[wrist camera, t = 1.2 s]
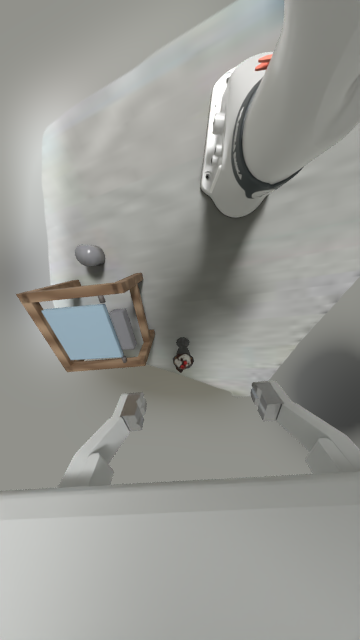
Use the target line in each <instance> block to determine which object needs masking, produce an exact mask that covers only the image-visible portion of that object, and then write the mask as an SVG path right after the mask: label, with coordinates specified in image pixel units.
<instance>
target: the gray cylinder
mask: <svg viewBox="0 0 360 640" xmlns="http://www.w3.org/2000/svg"><path fill="white" fill-rule="evenodd" d="M75 256H76V258H77V260H78V261H79V262H80V263H81V264H83V265H85V266H95V265H101V264H103V263H104V261H105V254H104V252H103V251H102V249H101V248H99V247H97V246H92V245H79V246H77V247H76V249H75Z"/></svg>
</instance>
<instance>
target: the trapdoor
mask: <svg viewBox="0 0 360 640" xmlns="http://www.w3.org/2000/svg"><path fill="white" fill-rule="evenodd" d="M42 313H43V315H44V316H45V318H46V320H47V321H48V323H49V325H50V326H51V328H52V330H53V331H54V333H55V335H56V336H57V338H58V340H59V341H60V343H61V344H62V346H63V348H64V349H65V351H66V353H67V354H68V356H69V358H70V359H71V360H80V359H98V358H116V357H122V356H123V355H124V354H123V351H122V350H123V349H134V348H135V346H136V344H137V343H136V340H135V337H134V333H133V330H132V327H131V323H130V320H129V317H128V313H127V310H126V309H115V310H112V311H111V312H110V313H108V311H107V308H106V305H105V304H97V305H86V306H75V307H64V308H53V309H45V310H42ZM109 314H110V316H109ZM110 317H111V319H112V321H111V319H110ZM112 322H113V324H112ZM113 325H114V327H113ZM114 328H115V330H116V332H115V330H114ZM116 333H117V335H116ZM117 336H118V338H117ZM118 339H119V340H118ZM119 341H120V343H119ZM120 344H121V346H120ZM121 347H122V349H121Z"/></svg>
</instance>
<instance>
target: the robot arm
mask: <svg viewBox="0 0 360 640" xmlns="http://www.w3.org/2000/svg"><path fill="white" fill-rule="evenodd" d="M284 5H285V8H284V21H283V26H282V31H281V34H280V37H279V40H278V42H277V45H276V47H275V50H274V52H266V53H261V54H258V55H255V56H252V57H250V58H248V59H246V60H245V61H243V62H242V63H240V64H239V65H238V66H237V67H235V68H233V69H231V70H229V71H228V72H226V73H225V74H224V75H223V76H222V77H221V78H220V79H219V80H218V81H217V82H216V84H215V85H214V88H213V91H212V95H211V103H210V111H209V119H208V128H207V136H206V145H205V153H204V161H203V170H202V178H201V189H202V190H203V191H204V192H205V193H206V194H207V195H209V196H210V197H211V198H212V200H213V201H214V203H215V205H216V207H217V208H218V209H219V210H220V211H221V212H222V213H223V214H225V215H227V216H229V217H242V216H245V215H247V214H249V213H251V212H252V211H254V210H255V209H256V208H257V207H258V206H259V205H260V204H261V202H262V201H263V200H264V198H265V197H266V196H267V195H269V194H270V193H272V192H274V191H275V190H276V189H278V188H279V187H281V186H282V185H283V184H285V183H286V182H287V181H289V180H290V179H291V178H293V177H294V176H295V175H296V174H297V173H298V172H299V171H300V170H301V169H302V168H303V167H304V166H305V165H307V164H308V163H310V162H311V161H312V160H314V159H315V158H317V157H318V156H319V155H321V154H322V153H324V152H325V151H327V150H328V149H329V148H331V147H332V146H334V145H335V144H336V143H338V142H339V141H341V140H342V139H343V138H344V137H345V136H346V135H347V134H348V133H349V132H350V131H351V130H352V129H353V128H354V127H355V126H356V125H357V124H358V123H359V122H360V0H284ZM227 81H228V83H227V84H226V82H227ZM206 176H208V177H209V179H206ZM252 387H253V388H252V389H251V397H252V400H253V402H254V404H255V405H256V406H258V412H259V414H260V416H261V418H262V420H263V421H277V422H278V423H279V424H280V425H281V426H282V427H283V428H284V429H285V430H286V431H288V432H289V433H290V434H291V435H292V436H293V437H294V438H295V439H296V440H297V441H298V442H299V443H301V444H302V445H303V446H304V447H305V448H306V449H307V450H308V451H309V454H308V455H307V457H306V459H305V461H306V463H307V465H308V467H309V468H310V470H311V472H312V473H313V474H301V475H282V476H264V477H246V478H227V479H208V480H192V481H172V482H153V483H136V484H116V485H110V484H111V481H112V477H113V474H114V471H113V469H112V468H111V467H110V466H109V462H110V461H111V459H112V458H113V457H114V455H115V454H116V452H117V451H118V449H119V448H120V446H121V445H122V443H123V442H124V440H125V439H126V437H127V436H128V434H129V433H130V431H137V430H142V427H143V422H144V418H143V415H144V414H145V412H146V400H145V398H143V396H144V394H143V392H141V393H127V394H122V395H121V397H120V399H119V401H118V404H117V407H116V409H115V411H114V414H113V416H112V418H109V419H108V420H107V421H106V422H105V423H104V424H103V425H102V426H101V427H100V429H99V430H98V431H97V432H96V433H95V434H94V435H93V436H92V437H91V438H90V439H89V440H88V441H87V442H86V443H85V444H84V445H83V446H82V447H81V448H80V449H79V450H78V451H77V453H75V455H74V457H73V459H72V461H71V463H70V465H69V467H68V469H67V471H66V473H65V474H64V476H63V478H62V480H61V482H60V484H59V486H58V488H43V489H25V490H6V491H0V640H360V450H359V448H358V447H357V446H356V445H355V444H354V443H353V442H352V441H351V440H350V439H349V438H348V437H347V436H346V435H345V434H343V433H342V432H340V431H338V430H337V429H335V428H334V427H332V426H330V425H329V424H327V423H326V422H324V421H323V420H321V419H319V418H318V417H317V416H315V415H314V414H312V413H310V412H309V411H307V410H306V409H304V408H302V407H301V406H300V405H298V404H296V403H293V402H292V401H291V400H290V398H289V397H288V396H287V394H286V393H285V392H284V390H283V389H282V388H281V387H280V386H279V384H278V383H277V382H276V381H274V380H273V381H261V382H253V383H252Z"/></svg>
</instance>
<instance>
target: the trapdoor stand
mask: <svg viewBox="0 0 360 640" xmlns="http://www.w3.org/2000/svg"><path fill="white" fill-rule="evenodd" d="M142 280H143V276H142V273H136V274H133V275H131V276H129V277H126V278H124V279H122V280H119V281H117V282H115V283H106V284H97V285H88V286H81V284H80V282H79V280H72V281H68V282H64V283H60V284H56V285H52V286H49V287H44V288H40V289H36V290H32V291H27V292H23V293H19V294H16V295H17V297H18V298H19V299H20V301H21V303H22V304H23V306H24V307H25V309H26V310H27V312H28V313H29V315H30V316H31V318H32V319H33V321H34V322H35V324H36V326H37V327H38V328H39V330H40V332H41V333H42V335H43V336H44V338H45V339H46V341H47V342H48V344H49V345H50V347H51V348H52V350H53V351H54V353H55V354H56V356H57V357H58V359H59V361H60V362H61V364H62V365H63V367H64V368H65V370H66V371H67V372H73V371H86V370H99V369H110V368H111V369H112V368H124V367H136V366H145V365H146V362H147V359H148V355H149V352H150V349H151V346H152V342H153V339H154V336H155V331H154V329H153V330H149V329H148V325H147V321H146V317H145V313H144V308H143V304H142V300H141V296H140V292H139V287H138V283H139V282H140V281H142ZM128 290H130V293H131V297H132V301H133V304H134V308H135V312H136V316H137V319H138V323H139V327H140V330H141V334H142V338H143V341H144V343H143V345H142V348H141V350H140V353H139V355H138V357H130V358H126V357H125V356H123V357H122V358H118V359H106V360H95V361H84V360H85V359H80V360H71V359H70V358H69V356H68V354H67V353H66V351H65V349H64V348H63V346H62V344H61V343H60V341H59V340H58V338H57V336H56V335H55V333H54V331H53V330H52V328H51V326H50V325H49V323H48V321H47V320H46V318H45V316H44V315H43V313H42V310H43V308H42V307H41V305H40V303H39V302H42V301H52V300H61V299H71V298H80V297H90V296H98V298H99V301H100V303H104V302H105V299H104V296H103V295H109V294H119V293H125V292H126V291H128Z"/></svg>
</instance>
